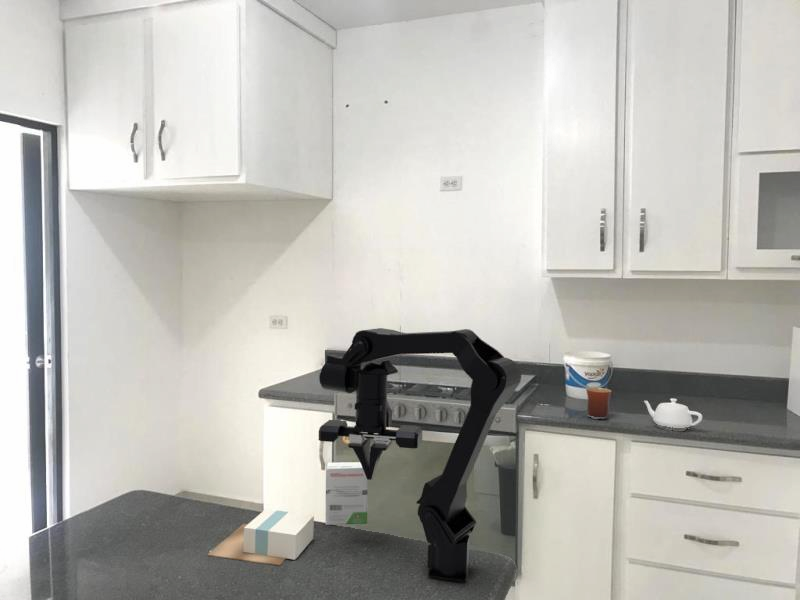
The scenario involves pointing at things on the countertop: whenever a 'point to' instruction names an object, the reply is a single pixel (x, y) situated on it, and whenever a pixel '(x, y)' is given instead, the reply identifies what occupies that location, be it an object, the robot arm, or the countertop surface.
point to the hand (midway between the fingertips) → (369, 479)
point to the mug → (598, 402)
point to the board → (241, 550)
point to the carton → (278, 534)
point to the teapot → (673, 415)
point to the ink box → (346, 493)
